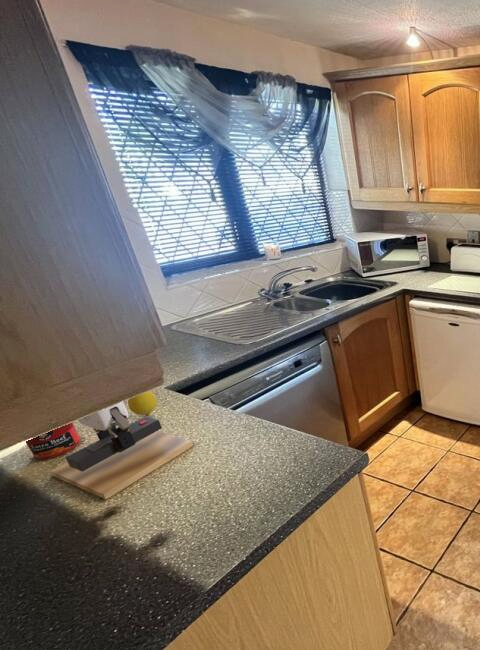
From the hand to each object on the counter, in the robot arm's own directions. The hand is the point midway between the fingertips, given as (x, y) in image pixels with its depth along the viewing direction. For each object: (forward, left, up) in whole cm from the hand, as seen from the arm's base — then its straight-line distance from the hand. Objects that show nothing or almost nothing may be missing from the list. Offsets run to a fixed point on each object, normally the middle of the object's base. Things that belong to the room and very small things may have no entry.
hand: (119, 445), depth 89 cm
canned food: (-21, -3, -5) cm, 22 cm away
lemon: (-16, +13, -5) cm, 21 cm away
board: (0, 0, -4) cm, 4 cm away
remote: (0, 0, 0) cm, 0 cm away
